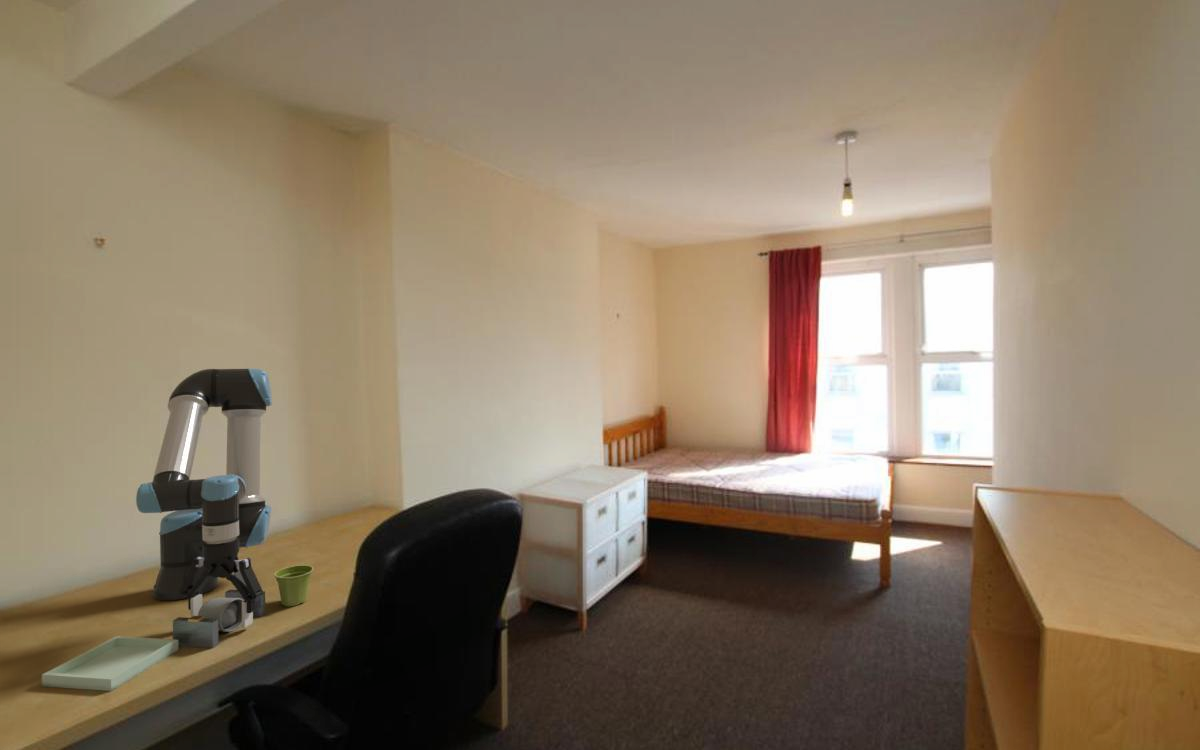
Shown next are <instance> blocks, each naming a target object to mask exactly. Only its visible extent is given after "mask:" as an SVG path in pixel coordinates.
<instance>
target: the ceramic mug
mask: <svg viewBox="0 0 1200 750" xmlns="http://www.w3.org/2000/svg"><path fill="white" fill-rule="evenodd" d="M242 601H244V600H243V599H241V598H225V597H213V598H211V599H208V600H207V601H205V602H204V603H202V607H201V608H200V610H199V613H198V616H203V619H218V632H223V633H231V632H234V631H236V630H237V629H239V628H240V626H242Z"/></svg>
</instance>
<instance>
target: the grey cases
mask: <svg viewBox="0 0 1200 750" xmlns="http://www.w3.org/2000/svg"><path fill="white" fill-rule="evenodd" d="M248 594H249V593H248ZM224 598H241V599H243V600H245V599H244V598H243V597H242V595H241V594H240V593H239V591H238V590H237V589H228V590H227V591H224ZM264 615H266V591H265V590H263V594H262V595H260V596H259V597H257V598H255V611H253V617H263V616H264ZM172 639H174V640H178V647H188V648H189V647H190V648H191V647H192V648H205V649H214V648H215V647H218V645H219V631H218V619H203V616H193V617H191V616H190V617H182V616H179V617H177V618H175V619H173V620H172Z"/></svg>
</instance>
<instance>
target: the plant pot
mask: <svg viewBox="0 0 1200 750" xmlns="http://www.w3.org/2000/svg"><path fill="white" fill-rule="evenodd" d="M313 571H314V567H313V566H311V565H308V564H298V565H291V566H287V567H283V568H280V569H279V570H277V571H275V572H274V578H276V582H277V583H278V585H277V587H278V591H279V597H280V602H281V606H284V607H295V606H299V605H300V604H301V603H302V604H303V603H305V602H306V601H308V600H307V599H308V595H309V594H308V593H309V586H310V581H311V576H312V573H313Z"/></svg>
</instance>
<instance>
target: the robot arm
mask: <svg viewBox="0 0 1200 750" xmlns="http://www.w3.org/2000/svg"><path fill="white" fill-rule="evenodd" d="M272 400H273V398H272V389H271V385H270V379H269V377H268V373H267V372H266V371H265V370H264V369H259V368H258V369H257V368H207V369H201V370H199V371H196V372H193V373H192V374H190V375H188V376H187V377H186V378H184V379H183V380H182V381H181V382H180V383H179V384H177V386H176V387H175V388H174V390H173V391H172V392H171V394H170V396H169V400H168V403H167V409H168V411H169V412H170V413H169V417H168V420H167V424H166V427H165V431H164V432H165V433H164V435H163V439H162V444H161V447H160V451H159V454H158V459H157V462H156V465H155V466H156V467H155V470H154V473H153V478H152V481H149V482H145V483H142V484H140V485H139V487H137V491H136V497H135V498H136V499H135V501H136V502H135V503H136V507H137V510H138V511H139V512H140V513H143V514H156V513H157V514H162V513H167V512H171V513H168V514H166V515H165V516H164V517H162V518H161V520H160V526H159V528H160V529H159V533H158V535H159V546H160V547H159V553H160V556H159V557H160V558H159V559H160V569H159V571H158V574H157V577H156V579H155V584H154V585H153V588H152V597H153V599H155V600H157V601H164V602H165V601H168V602H169V601H179V600H184V599H188V600H187V601H188V602H187V607H188V611H190V618H191V617H193V616H198V613H199V610H200V608H201V607H202V606H203V594H205V593H208V592H210V591H213V590H214V589H215V588H217V586H218V585H219V578H220V579H226V580H227V581H230V582H231V584H232V585H233V586H234V588H236V589H235V590H238V591H239V593H240V594H241V595H242V597H243V598H244V599H245V600H244V601H242V624H241V628H242V629H243V628H244V629H245V628H247V627H249V626H250V625H252V624H253V623H254V616H253V611H255V598H257V597H259V596H260V595H262V594H263V591H264V590H263V588H262V587H261V584H260V582H259V580H258V578H257V575H256V573H255V571H254V569H253V567H252V561H251V558H250V557H246V558H243V559H239V557H238V556H239V555H238V554H239V552H240V549H241V548H246V549H247V548H251V547H255V546H260V545H262V544H263V543H264V542H265V541H266V539H267V536H268V533H269V532H268V531H269V526H270V521H271V512H272V507H271V505H268V504H266V499H265V498H264V497H263V496H261V494H260V490H261V489H260V488H261V487H260V486H261V479H260V477H261V469H260V468H261V417H262V416H263V415H265V413H267V407H269V406H272V405H273V401H272ZM210 408H221V413H222V414H223V415H224V416H225V418H227V420H226V422H227V423H226V424H227V425H226V427H227V429H226V467H225V468H226V472H225V474H224V475H223V474H222V475H215V476H210V477H207V478H199V479H191V474H192V469H193V465H194V459H195V455H196V451H197V446H198V441H199V435H200V431H201V427H202V423H203V416H204V415H206V414H207V413H208V412H209V409H210ZM248 593H249V594H248Z"/></svg>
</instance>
